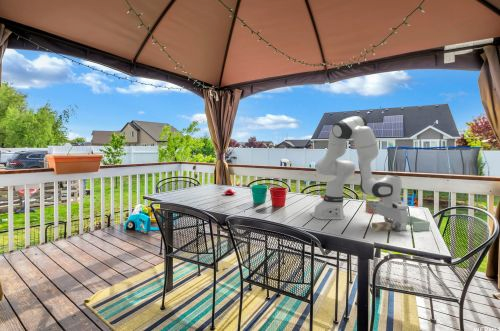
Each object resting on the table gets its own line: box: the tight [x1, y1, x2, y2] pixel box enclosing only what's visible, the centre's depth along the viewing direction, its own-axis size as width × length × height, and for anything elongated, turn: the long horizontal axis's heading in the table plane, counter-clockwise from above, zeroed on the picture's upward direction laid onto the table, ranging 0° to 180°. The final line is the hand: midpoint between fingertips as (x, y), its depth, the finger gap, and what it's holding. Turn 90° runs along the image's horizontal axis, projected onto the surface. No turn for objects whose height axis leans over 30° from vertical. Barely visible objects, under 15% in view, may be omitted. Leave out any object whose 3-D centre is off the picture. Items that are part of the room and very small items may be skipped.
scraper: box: [371, 219, 402, 232], centre depth 141 cm, size 14×9×4 cm, turn 101°
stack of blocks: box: [365, 197, 383, 215], centre depth 176 cm, size 21×6×12 cm, turn 79°
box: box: [407, 215, 431, 232], centre depth 145 cm, size 11×13×5 cm
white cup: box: [398, 222, 408, 231], centre depth 143 cm, size 8×8×10 cm
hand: (390, 226), depth 142 cm, fingers closed on scraper, 3 cm apart
